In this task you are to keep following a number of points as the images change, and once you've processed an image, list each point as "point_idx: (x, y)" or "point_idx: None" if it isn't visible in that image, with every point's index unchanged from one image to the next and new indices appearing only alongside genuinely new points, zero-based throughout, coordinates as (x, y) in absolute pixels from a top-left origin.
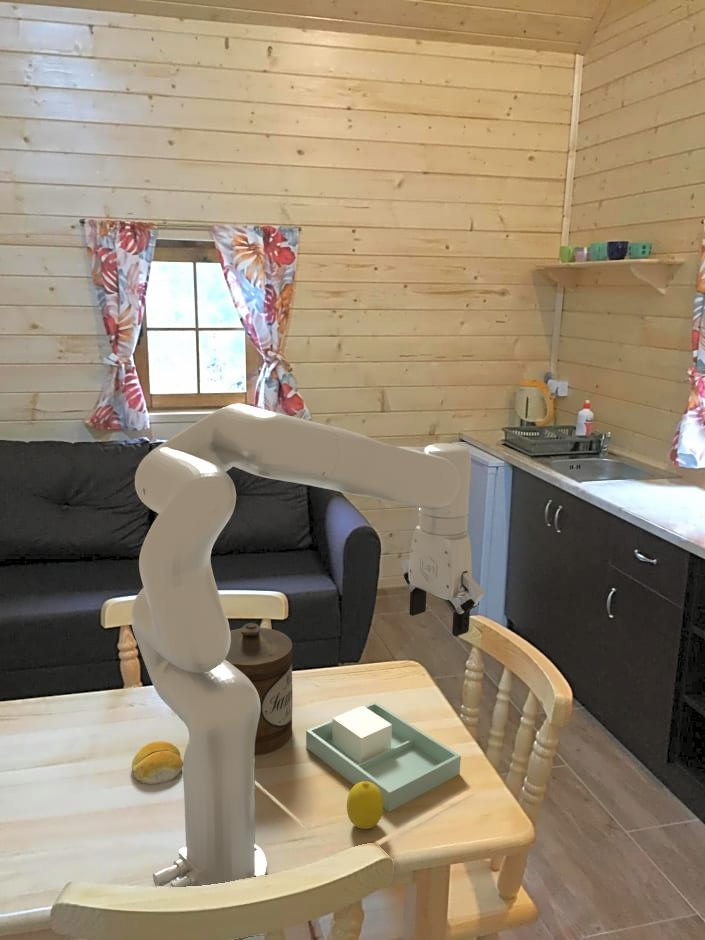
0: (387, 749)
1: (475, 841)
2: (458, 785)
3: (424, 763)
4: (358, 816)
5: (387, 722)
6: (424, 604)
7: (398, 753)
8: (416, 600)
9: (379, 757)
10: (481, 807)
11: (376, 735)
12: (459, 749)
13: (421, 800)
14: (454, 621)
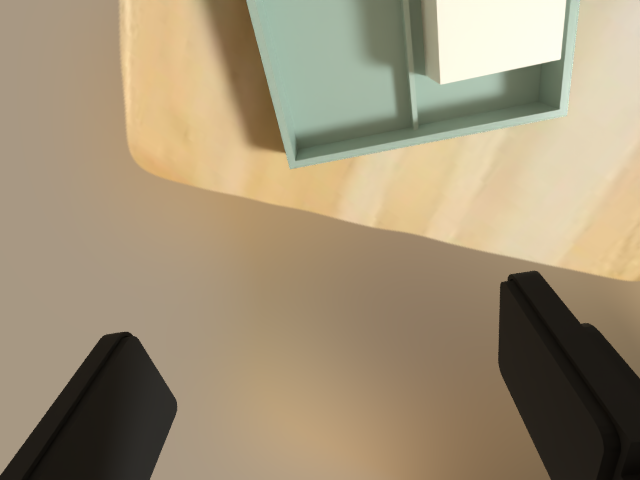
0: (426, 64)
1: (126, 73)
2: (274, 138)
3: (350, 114)
4: None
5: (454, 78)
6: (520, 405)
7: (406, 83)
8: (557, 397)
9: (404, 24)
10: (206, 139)
11: (434, 27)
12: (363, 201)
13: None
14: (51, 418)
